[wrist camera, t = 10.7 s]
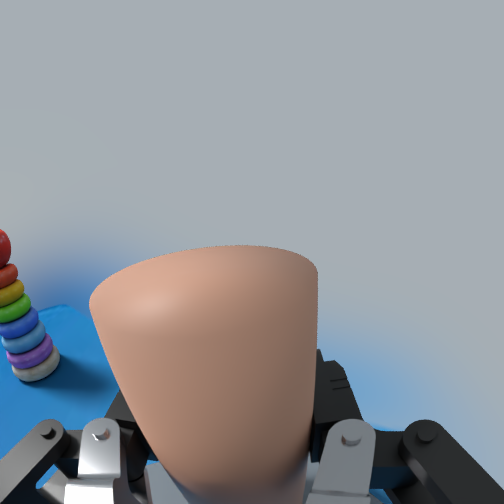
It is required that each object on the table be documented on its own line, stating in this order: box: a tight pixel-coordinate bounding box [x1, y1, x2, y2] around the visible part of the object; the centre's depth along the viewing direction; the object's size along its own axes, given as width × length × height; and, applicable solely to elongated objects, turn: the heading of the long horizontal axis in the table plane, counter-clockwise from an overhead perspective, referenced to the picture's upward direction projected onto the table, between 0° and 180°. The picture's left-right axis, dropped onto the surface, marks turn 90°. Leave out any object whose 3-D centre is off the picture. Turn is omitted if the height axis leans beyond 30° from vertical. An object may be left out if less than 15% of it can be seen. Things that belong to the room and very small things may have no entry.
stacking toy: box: [0, 229, 60, 381], centre depth 24 cm, size 8×8×19 cm
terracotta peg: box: [89, 245, 318, 504], centre depth 8 cm, size 5×5×12 cm
